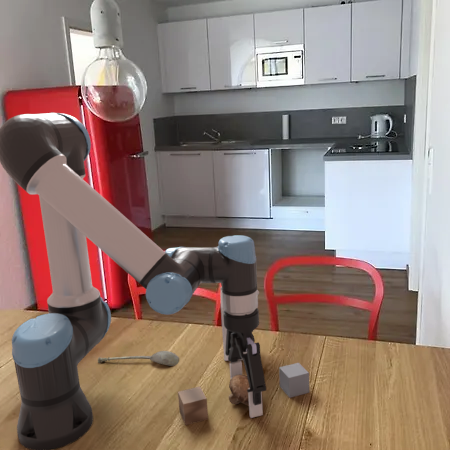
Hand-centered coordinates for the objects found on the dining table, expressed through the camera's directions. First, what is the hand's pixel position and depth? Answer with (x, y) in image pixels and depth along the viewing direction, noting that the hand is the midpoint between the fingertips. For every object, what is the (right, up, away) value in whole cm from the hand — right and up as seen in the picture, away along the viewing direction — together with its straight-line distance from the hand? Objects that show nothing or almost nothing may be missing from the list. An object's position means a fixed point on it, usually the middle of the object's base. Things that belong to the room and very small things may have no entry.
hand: (246, 401), depth 108 cm
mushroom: (0, 0, 0) cm, 0 cm away
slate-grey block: (+11, +1, +4) cm, 12 cm away
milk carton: (-1, +5, +21) cm, 22 cm away
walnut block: (-11, -2, -4) cm, 12 cm away
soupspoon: (-27, +2, +21) cm, 35 cm away
